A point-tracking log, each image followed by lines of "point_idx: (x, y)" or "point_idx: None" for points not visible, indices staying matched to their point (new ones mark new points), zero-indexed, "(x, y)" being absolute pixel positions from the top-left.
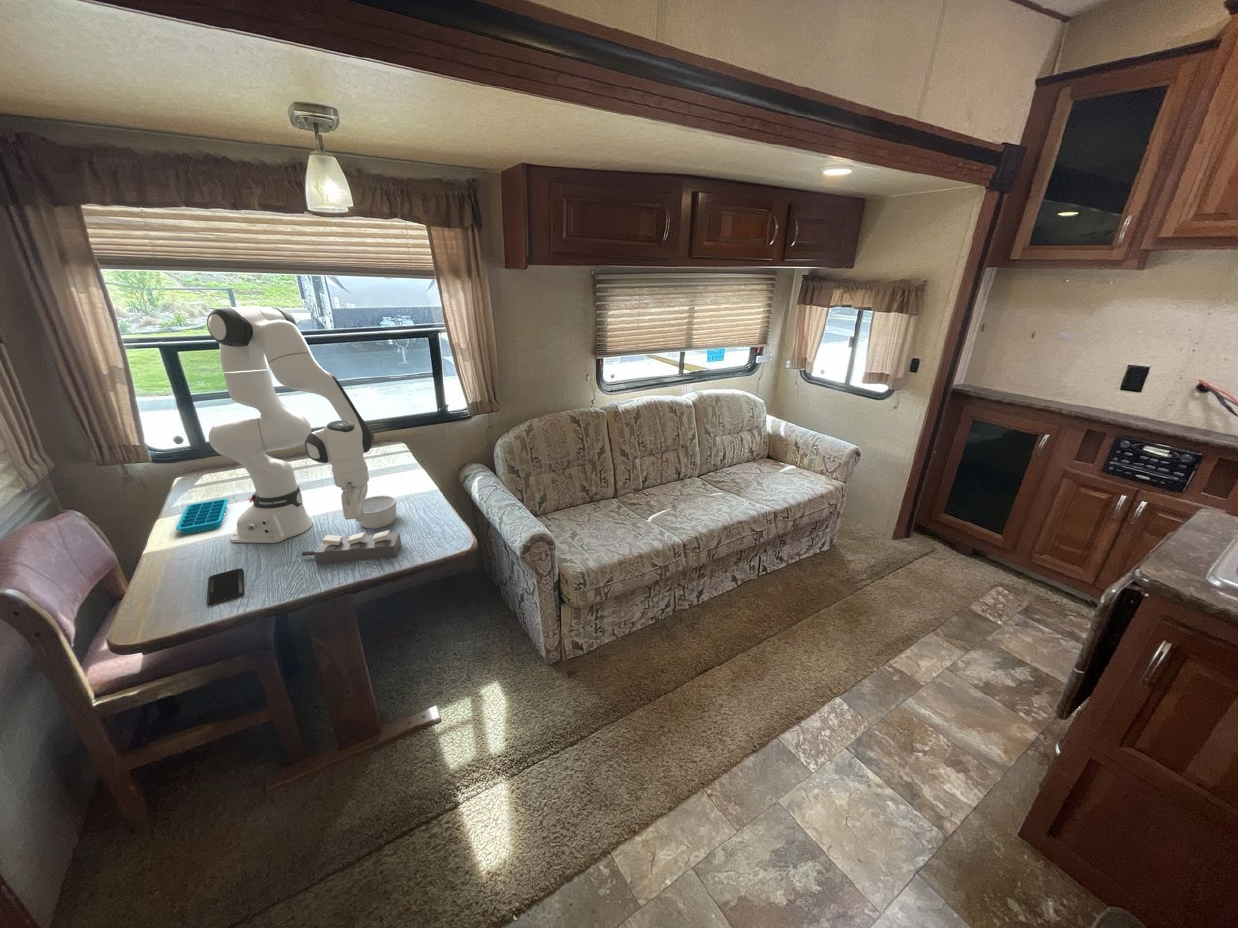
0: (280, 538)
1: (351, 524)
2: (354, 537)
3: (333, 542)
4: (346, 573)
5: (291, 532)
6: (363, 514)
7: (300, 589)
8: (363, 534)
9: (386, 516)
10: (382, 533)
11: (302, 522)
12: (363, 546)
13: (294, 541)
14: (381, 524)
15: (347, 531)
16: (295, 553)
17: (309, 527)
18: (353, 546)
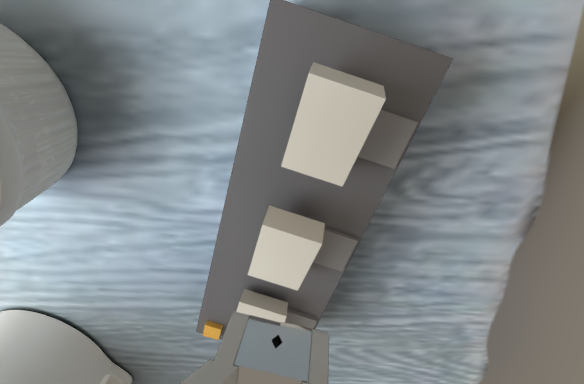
0: (119, 379)
1: (33, 210)
2: (289, 267)
3: None
4: (427, 256)
5: (91, 364)
6: (232, 326)
7: (435, 359)
8: (293, 234)
9: (3, 66)
10: (323, 125)
11: (42, 355)
12: (346, 217)
13: (132, 348)
14: (60, 98)
15: (91, 226)
16: (207, 351)
17: (52, 319)
18: (330, 258)
